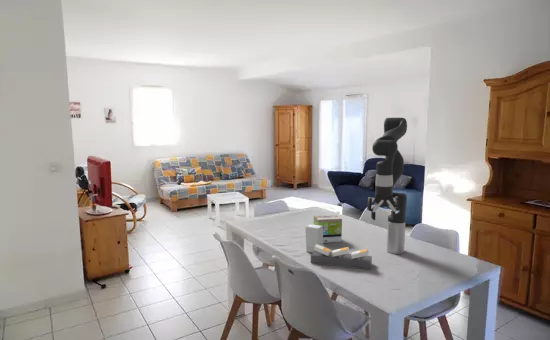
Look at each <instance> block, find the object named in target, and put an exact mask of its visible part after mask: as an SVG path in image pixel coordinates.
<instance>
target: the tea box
mask: <svg viewBox="0 0 550 340" xmlns="http://www.w3.org/2000/svg"><path fill="white" fill-rule="evenodd" d="M313 225H320V226H323V244H324V243H326V244H327V243H329V244H330V243H342V235H343V233H342V232H343V228H342V227H343V219H342V218H341V217H340V216H339V215H337V214H335V215H331V214H330V215H314V216H313Z"/></svg>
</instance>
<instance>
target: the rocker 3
mask: <svg viewBox="0 0 550 340" xmlns="http://www.w3.org/2000/svg"><path fill="white" fill-rule="evenodd" d="M350 254H351V257H352V259H353V258H358V257H363V256H369V249H368V248H364V249H360V250H356V251H352V252H351V253H350Z"/></svg>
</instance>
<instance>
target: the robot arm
mask: <svg viewBox="0 0 550 340" xmlns="http://www.w3.org/2000/svg"><path fill="white" fill-rule="evenodd" d="M383 121H384V122H383V134H382V136H381V137H378V138H376V140H375V141H374V142H373V143H372V149H371V150H372V152H373V154H374V155H375V156H379V157H384V156H385V160H379V161H378V162H376V166H375V167H376V168H375V169H376V173H375V174H376V175H375V191H374V197H370V196H368V197H367V206H366V209H367V211H369V212H371V215H370V218H371V219H372V220H373V221H376V211H377V209H379V208H385V207H386V208H387V209H389V210H391V211H390V214H389V215H388V216H387V232H386V233H387V238H386V239H387V240H386V251H387V253H390V254H395V255H401V254H404V253H405V242H406V241H405V240H406V238H405V237H406V214H407V213H406V212H407V203H408V197H407V194H406V193H404V192H393V191H394V190H393V189H394V186H396V183H397V182H398V181H399V179H400V178H401V176H402V175H403V174H404V171H405V170H404V167H405V164H404V163H405V162H404V157H403V155H402V154H401V152H400V150H398V147H399V146H398V141H399V140H400V139H401V138H403V137H404V136H405V135H406V133H407V130H408V123H407V122H408V121H407V119H406V117H405V118H404V117H386V118H385V119H384V120H383ZM374 201H375V203H374ZM373 203H374V204H373ZM372 204H373V205H372ZM397 211H398V212H397Z"/></svg>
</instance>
